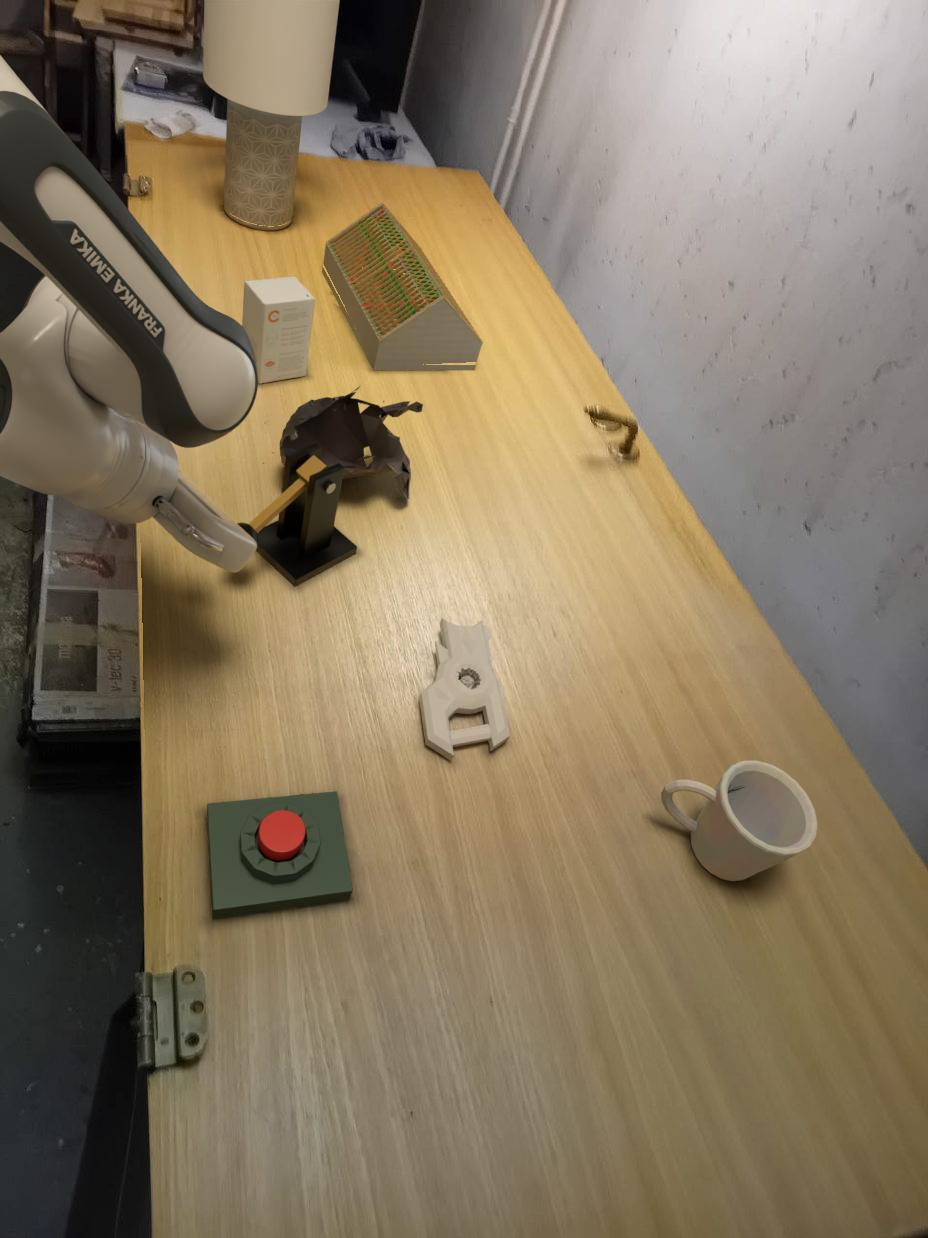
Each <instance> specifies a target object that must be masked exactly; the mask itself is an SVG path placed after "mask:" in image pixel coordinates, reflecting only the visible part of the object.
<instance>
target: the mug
mask: <svg viewBox="0 0 928 1238" xmlns="http://www.w3.org/2000/svg"><path fill="white" fill-rule="evenodd" d="M682 791H683V792H684V791H685V792H686V791H687V792H692V793H696V794H698V795H700V796H703V797H704V798H705V799H707V801H706V802H705V804H704V806H703V807H702V808H701V811H700V812H699V814H698V816H697V817H696V820H694V819H692V818H691V817H689V816H688V815H687V814H685V813H684V812H683V811H682V810H681V809H679V807H677V805H676V803H674V800H673V794H675V793H678V792H682ZM660 797H661V803H662V805H663V807H664V810H665V811H666V812H667V813H668V814H669V816H670V817H671V818H672V819H673V820H674V821H675V822H676V823H678V824H680V825H681V826H682V827H684V828H686V829H687V830H689V831H690V846H691V849H692V851H693V854H694V856H695V857H696V859H697V860H698V862H699V863H700V865H701V866H702V867H703V868H705V870H707V871H708V872H709V873H710V874H711V875H713V876H715V877H717V878H719V879H720V880H724V881H729V882H738V881H744V880H746V879H748V878H751V877H753V876H754V875H757V874H759V873H761V872H763V871H765V870H767V869H768V870H769V868H772V867H774V866H776V865H778V864H781V863H782V862H785V861H788V860H789V859H791V858H793V857H795V856H798V855H800V854H801V853H803V852H805V851H807V850H808V849H810V847H811V846H812V844H813V842H814V841H815V839H816V837H817V832H818V825H819V823H818V819H817V813H816V809H815V807H814V805H813V803H812V801H811V799H810V797H809V795H808V794H807V792H805V789H803V787H802V786H801V785H800V784H799V782H798V781H797V780H795V779H794V778H793V777H792V776H791V775H789V774H788V773H787V772H785V771H784V770H782V769H781V768H778V767H777V766H775V765H773V764H771V763H768V762H765V761H760V760H757V759H756V760H755V759H754V760H741V761H739V762H737V763H734V764H732V765H730V766H729V767H728V768H727V769H726V770H725V772H724V773H723V774H722V775H721V777H720V779H719V780H718V782H717V784H716V785H715V787H714V788H713V787H711V786H709V785H707V784H705V783H703V782H700V781H696V780H691V779H675V780H673V781H670V782H668V783H666V784H665V786H664V787H663V789H662V791H661V793H660Z"/></svg>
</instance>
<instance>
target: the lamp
mask: <svg viewBox="0 0 928 1238" xmlns="http://www.w3.org/2000/svg"><path fill="white" fill-rule="evenodd" d="M203 2H204V3H203V9H204V10H203V53H202V54H203V55H202V56H203V57H202V59H203V61H202V62H203V64H202V66H203V67H202V78H203V81H204V82H205V84H206V85H207V86H208V87H209V88H210V89H211V90H213V91H214V92H215V93H217V94H219V95H220V96H222V97H223V98H225V99H226V101H227V103H226V129H225V130H226V131H225V157H224V182H223V183H224V185H223V186H224V188H223V210H224V212H225V213H226V214H227V216H228V217H229V218H230V219H231V220H232V221H234V222H235V223H238V224H240V225H242V226H243V227H247V228H249V229H253V230H258V231H264V232H265V231H267V232H270V231H271V232H273V231H280V230H283V229H286V228H287V227H288V226H289V225H290V224H291V223H292V221H293V215H294V203H295V195H296V194H295V193H296V186H297V185H296V184H297V175H298V174H297V173H298V163H299V162H298V161H299V154H300V153H299V152H300V142H301V132H302V124H303V123H302V122H303V116H304V117H306V116H314V115H317V114H320V113H322V112H324V111H325V110H326V109H327V107H328V103H329V94H330V84H331V78H332V68H333V60H334V53H335V43H336V35H337V26H338V18H339V17H338V16H339V9H340V0H203ZM230 213H231V214H232V215H234V216H236V217H238V218H240V219H242V220H244V221H247V222H250V223H254V224H257V225H254V224H250V223H247V222H244V221H242V220H240V219H237V218H236V217H234V216H232V215H231V214H230ZM291 218H292V220H291ZM290 220H291V221H290ZM289 221H290V222H289ZM287 222H289V223H287ZM285 223H287V224H285ZM282 224H285V225H282ZM259 225H263V226H259ZM264 225H265V226H264ZM278 225H282V226H278ZM268 226H274V227H268Z"/></svg>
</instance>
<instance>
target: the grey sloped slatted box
mask: <svg viewBox="0 0 928 1238" xmlns="http://www.w3.org/2000/svg"><path fill="white" fill-rule="evenodd" d="M323 264H324V266H325V268H326V270H327V272H328V274H329V276H330V278H331V280H332V282H333V284H334V286H335V288H336V290H337V292H338V294H339V295H340V298H341V300H342V302H343V304H344V305H345V308H346V310H347V312H348V313H347V312H346V310H345V308H344V306H343V304H342V302H341V300H340V298H339V296H338V294H337V293H336V291H335V289H334V287H333V285H332V283H331V281H330V279H329V277H328V276H327V274H326V272H325V270H324V268H323V267H322V268H321V269H322V270H321V272H322V275H323V276H324V278H325V280H326V282H327V284H328V286H329V288H330V289H331V292H332V293H333V296H334V298H335V300H336V301H337V304H338V305H339V307H340V308H341V311H342V312H343V315H344V316H345V318H346V320H347V323H348V324H349V326H350V328H351V331H352V332H353V334H354V336H355V337H356V340H357V341H358V344H359V345H360V347H361V349H362V351H363V353H364V355H365V357H366V359H367V360H368V362H369V364H370V366H371V369H372V370H373V371H475V368H476V366H477V364H476V365H426V364H442V363H466V362H477V363H478V359H479V356H480V352H481V349H482V347H483V343H484V341H483V340H482V338H481V337H480V335H479V333H477V331H476V329H475V328H474V326H473V325H472V323H471V322H470V320H469V319H468V317H467V316H466V314H465V313H464V310H462V309H461V307H460V306H459V303H458V302H457V300H456V299H455V298H454V296H453V295H452V292H451V291H450V290H449V289H448V287H447V286H446V284H445V283H444V282H443V280H442V278H441V276H440V275H439V273H438V272H437V271H436V269H435V268H434V266H433V264H432V263H431V261H430V260H429V258H428V257H427V256H426V254H425V252H424V250H423V249H422V248H421V246H420V245H419V244H418V242H417V241H416V240H414V238H413V237H412V235H410V234H409V232H408V231H407V230H406V228H405V227H404V226H403V224H401V222H400V221H399V220H398V219H397V218H396V216H395V215H394V214H393V213H392V212H391V210H390V209H389V208H388V206H386V205H385V203H384V202H383V201H382V202H380V203H378V204H377V205H375V206H374V207H373V208H372V209H370V210H369V211H367V213H365V214H363V215H362V216H361V217H359V218H358V219H356V220H355V221H353V222H352V223H350V224H349V225H348V226H347V227H345V228H344V229H342V230H341V231H340V232H338V233H336V234H335V235H334V236H332V237H331V238H330V239H328V240H326V241H325V248H324V255H323V262H322V265H323ZM362 267H363V268H362ZM393 269H396V270H393ZM403 273H405V274H403ZM409 273H410V274H409ZM399 276H401V277H399ZM348 314H349V315H348ZM354 326H355V327H354ZM355 328H356V329H355ZM423 364H424V365H423Z"/></svg>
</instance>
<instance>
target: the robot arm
mask: <svg viewBox="0 0 928 1238" xmlns="http://www.w3.org/2000/svg"><path fill="white" fill-rule="evenodd" d="M0 243H1V244H3V245H5V246H6V247H8V248H9V249H11V250H13V251H14V252H15V253H16V254H18V255H19V256H21V257H22V258H23V259H25V260H26V261H27V262H29V263H30V264H31V265H32V266H34V267H35V268H36V269H38V271H40V272H41V273H42V274H43V276H42V277H40V279H38V281H37V282H36V283H35V285H34V287H32V290H31V291H30V293H29V295H28V297H27V299H26V301H25V303H24V306H23V307H22V310H21V312H20V313H19V315H18V316H16V317H15V319H13V321H12V322H11V323H10V324H9V325H8V326H7V327H5V329H3V330H2V331H1V332H0V477H2V478H3V479H5V480H9V481H11V482H13V483H15V484H17V485H20V486H22V487H24V488H27V489H29V490H32V491H35V492H37V493H40V494H43V495H48V496H59V497H60V496H61V497H62V498H63V499H64V500H66V501H67V502H68V503H70V504H71V505H73V506H75V507H77V508H79V509H82V510H84V511H87V512H90V513H92V514H95V515H98V516H100V517H103V518H105V519H108V520H111V521H113V522H116V523H119V524H123V525H136V524H140V523H143V522H146V521H148V520H150V519H152V518H153V519H154V520H155V521H156V522H157V523H158V524H159V525H160V526H161V527H162V528H163V529H164V530H165V531H166V532H167V533H168V534H170V535H171V537H172V538H173V539H175V540H176V542H178V543H179V544H180V545H181V546H182V547H184V548H185V549H186V550H187V551H189V552H190V553H192V554H193V555H194V556H197V557H198V558H200V559H202V560H204V561H205V562H208V563H210V564H212V565H214V566H217V567H218V568H221V569H223V570H225V571H227V572H229V573H239V572H240V571H241V570H242V569H244V567H245V566H246V565H247V563H248V562H250V560H251V558H252V557H253V556H254V554H255V553H256V552H257V551H256V549H257V543H256V541H255V540H254V539H253V538H252V537H251V536H250V535H249V534H248V533H247V532H246V531H244V530H243V529H242V528H241V527H240V526H239V525H238V524H237V523H238V522H236V521H235V520H234V519H233V518H232V517H231V516H230V515H228V513H227V512H225V511H224V510H223V508H221V507H220V506H219V505H218V504H217V503H215V501H214V500H212V499H211V498H210V497H209V496H208V495H207V494H206V493H204V491H202V490H201V488H200V487H198V486H197V485H196V484H195V483H194V482H193V481H192V480H191V479H190V478H189V477H188V476H186V475H185V473H183V472H182V471H181V470H180V466H179V465H180V463H179V458H178V455H177V452H176V449H175V448H174V447H175V446H174V445H176V446H178V447H181V448H186V449H192V448H198V447H201V446H204V445H207V444H210V443H213V442H215V441H217V440H219V439H221V438H223V437H225V436H226V435H228V434H230V433H231V432H232V431H234V430H235V429H237V428H238V427H239V426H240V425H241V424H242V423H243V422H244V421H245V419H246V418H247V417H248V415H249V414H250V412H251V410H252V408H253V406H254V404H255V400H256V398H257V395H258V394H257V393H258V386H259V383H258V373H257V364H256V359H255V355H254V351H253V348H252V345H251V342H250V340H249V337H248V335H247V333H246V331H245V329H244V328H243V327H242V324H240V322H238V321H237V320H236V319H235V318H233V317H231V316H229V315H227V314H225V313H223V312H220V311H219V310H216V309H215V308H213V307H211V306H210V305H208V304H207V303H205V302H204V301H203V300H202V299H201V298H200V297H199V296H197V294H196V293H195V292H194V291H193V289H191V287H190V286H189V285H188V284H187V283H186V281H185V280H184V279H183V278H182V276H181V275H180V274H179V273H178V270H176V268H174V266H173V265H172V263H170V261H169V259H168V258H167V257H166V255H165V254H164V253H163V252H162V251H161V250H160V248H159V247H158V245H157V244H156V243H155V242H154V241H153V239H152V238H151V236H149V234H148V233H147V232H146V230H145V229H144V228H143V227H142V225H141V224H140V223H139V221H138V220H137V219H136V218H135V216H134V215H133V214H132V212H131V211H130V210H129V208H128V207H127V206H126V205H125V204H124V202H123V201H122V200H121V198H120V197H119V196H118V195H117V193H116V192H115V191H114V190H113V188H112V187H111V186H110V184H109V183H108V182H107V181H106V179H105V178H104V177H103V176H102V175H101V173H100V172H99V171H98V170H97V169H96V167H94V165H93V164H92V163H91V161H90V160H89V159H88V158H87V157H86V155H84V153H82V151H81V150H80V149H79V148H78V147H77V146H76V144H75V143H73V141H72V140H71V139H70V138H69V137H68V135H67V134H66V133H65V131H63V129H62V127H60V126H59V124H58V123H57V122H56V121H55V119H54V118H53V117H52V116H51V115H50V114H49V113H48V111H47V110H46V109H45V107H44V106H43V104H41V103H40V101H39V100H38V99H37V98H36V96H35V95H34V94H33V92H32V91H31V90H30V89H29V88H28V87H27V85H25V83H24V82H23V81H22V80H21V79H20V78H19V76H18V75H17V74H16V73H15V71H14V70H13V69H12V68H11V66H10V65H9V64H8V62H6V59H4V58H3V57H2V55H1V54H0ZM172 443H173V444H174V445H173V444H172Z"/></svg>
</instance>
